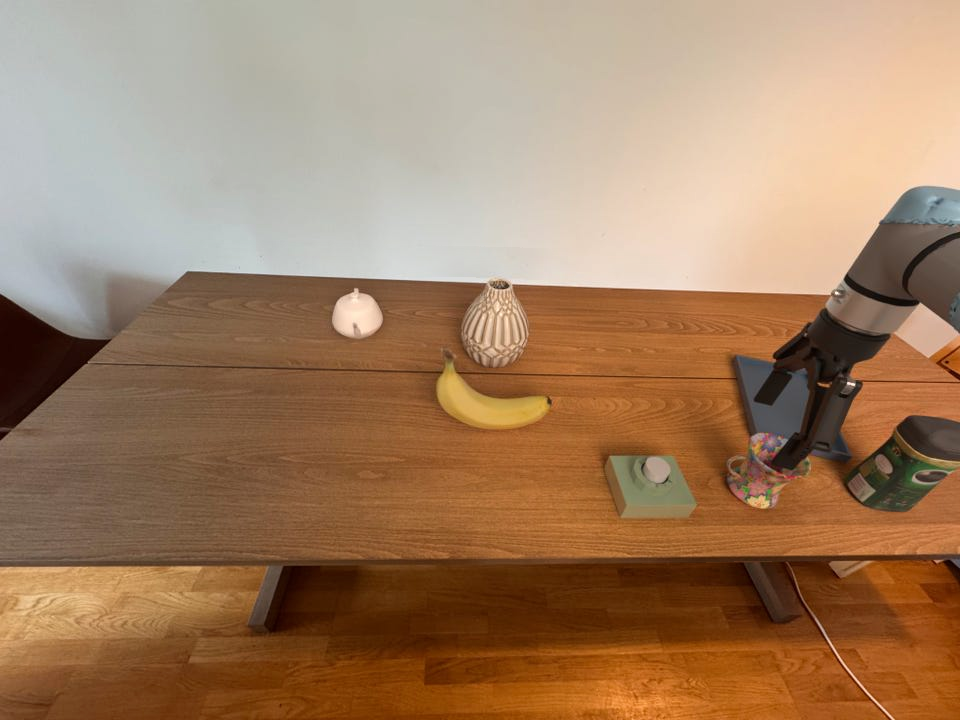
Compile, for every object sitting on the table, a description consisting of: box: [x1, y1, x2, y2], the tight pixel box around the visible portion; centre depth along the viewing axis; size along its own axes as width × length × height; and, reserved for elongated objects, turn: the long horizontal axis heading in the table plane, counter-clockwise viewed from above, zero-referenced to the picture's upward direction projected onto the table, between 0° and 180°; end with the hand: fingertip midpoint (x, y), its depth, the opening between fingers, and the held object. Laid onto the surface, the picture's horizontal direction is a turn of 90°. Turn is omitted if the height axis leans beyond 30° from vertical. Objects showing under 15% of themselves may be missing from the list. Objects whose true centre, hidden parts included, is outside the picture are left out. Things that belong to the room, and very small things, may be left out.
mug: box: [726, 433, 812, 510], centre depth 73 cm, size 12×9×11 cm
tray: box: [732, 354, 853, 464], centre depth 94 cm, size 27×17×2 cm, turn 163°
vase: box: [460, 277, 531, 369], centre depth 96 cm, size 16×16×20 cm
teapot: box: [331, 287, 384, 340], centre depth 104 cm, size 20×12×10 cm, turn 12°
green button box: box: [603, 454, 698, 519], centre depth 73 cm, size 12×10×6 cm
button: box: [642, 457, 671, 484], centre depth 71 cm, size 4×4×2 cm
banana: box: [435, 346, 553, 431], centre depth 79 cm, size 23×6×20 cm, turn 95°
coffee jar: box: [844, 414, 960, 513], centre depth 72 cm, size 10×8×19 cm
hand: (771, 431), depth 66 cm, fingers open, 13 cm apart
